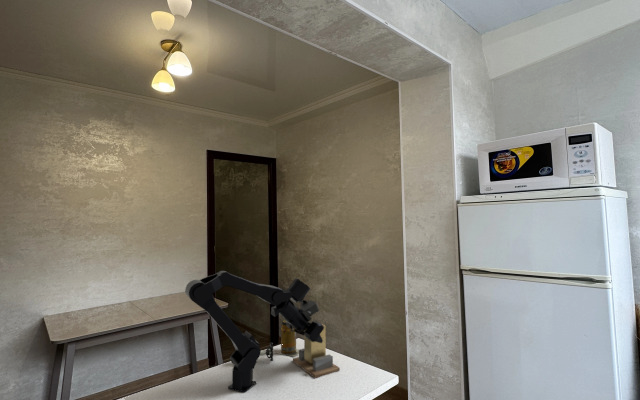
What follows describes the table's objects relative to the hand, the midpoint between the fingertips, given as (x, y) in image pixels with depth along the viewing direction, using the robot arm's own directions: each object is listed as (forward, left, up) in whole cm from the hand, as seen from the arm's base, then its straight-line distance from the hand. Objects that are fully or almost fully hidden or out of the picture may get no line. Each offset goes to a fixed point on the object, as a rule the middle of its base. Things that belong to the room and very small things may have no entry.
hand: (318, 339), depth 118 cm
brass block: (-1, +1, -7) cm, 7 cm away
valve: (-6, +23, -9) cm, 25 cm away
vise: (-1, +1, -9) cm, 9 cm away
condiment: (+7, +15, -9) cm, 19 cm away
